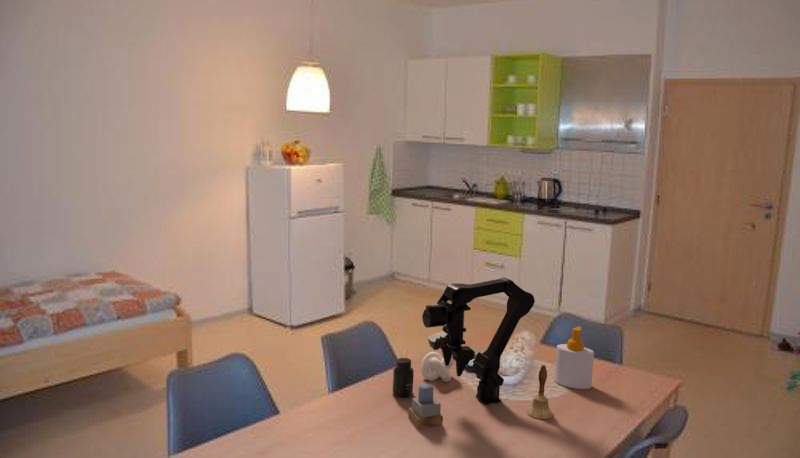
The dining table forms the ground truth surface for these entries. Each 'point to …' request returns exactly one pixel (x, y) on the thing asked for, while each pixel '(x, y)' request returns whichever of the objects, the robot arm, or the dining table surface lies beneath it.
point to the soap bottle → (574, 363)
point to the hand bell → (540, 399)
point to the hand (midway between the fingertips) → (452, 370)
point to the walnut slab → (425, 420)
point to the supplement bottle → (403, 378)
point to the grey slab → (426, 408)
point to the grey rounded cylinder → (425, 394)
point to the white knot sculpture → (435, 367)
